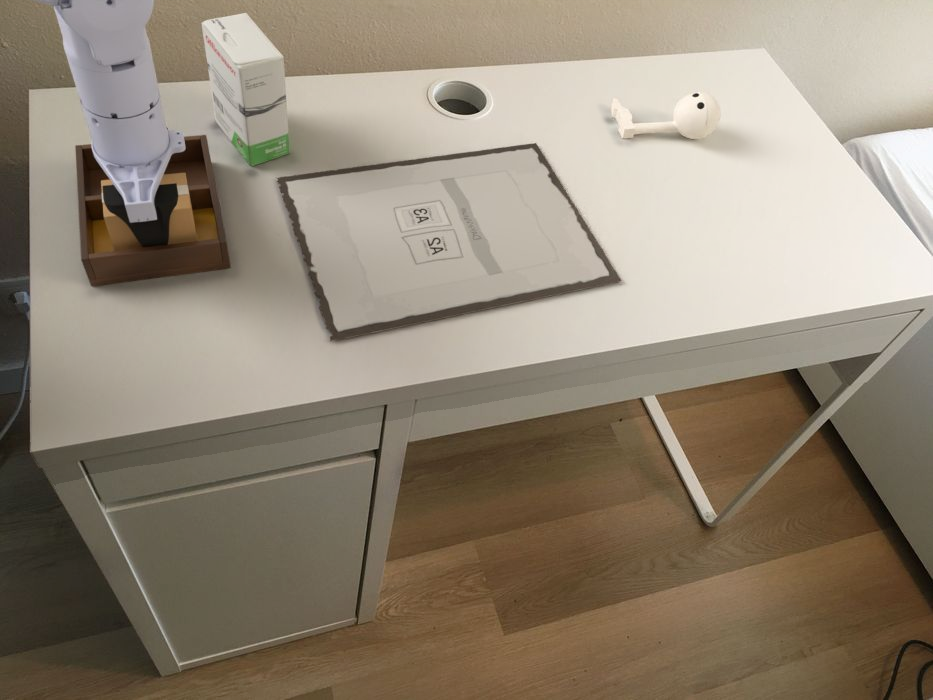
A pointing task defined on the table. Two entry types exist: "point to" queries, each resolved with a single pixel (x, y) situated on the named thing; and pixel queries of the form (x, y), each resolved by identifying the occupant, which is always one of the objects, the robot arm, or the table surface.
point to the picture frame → (439, 237)
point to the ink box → (247, 87)
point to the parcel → (178, 226)
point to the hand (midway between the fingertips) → (152, 223)
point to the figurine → (675, 118)
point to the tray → (156, 259)
